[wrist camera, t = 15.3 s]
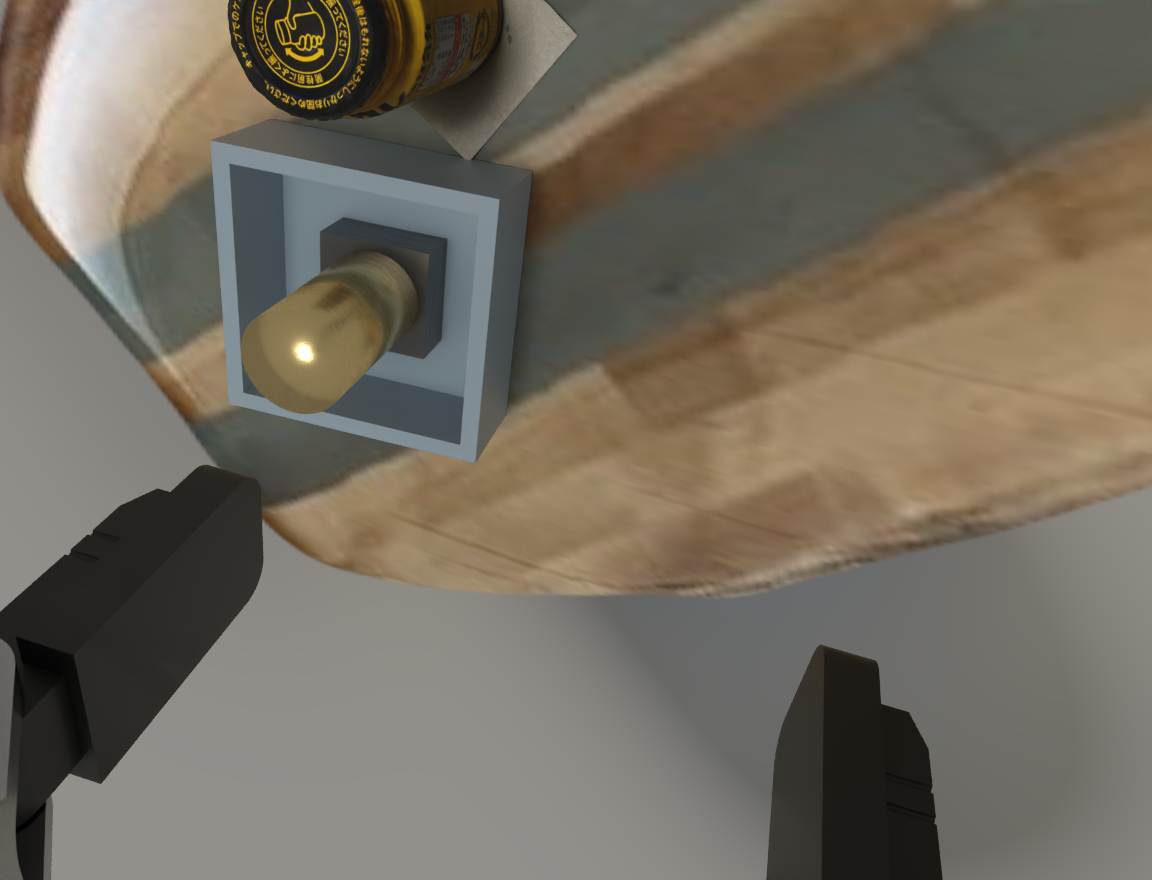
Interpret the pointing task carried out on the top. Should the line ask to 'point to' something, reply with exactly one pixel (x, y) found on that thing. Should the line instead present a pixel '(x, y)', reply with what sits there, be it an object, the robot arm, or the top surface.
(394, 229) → the gold cylindrical piece
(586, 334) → the top surface
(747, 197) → the top surface
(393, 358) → the bin
